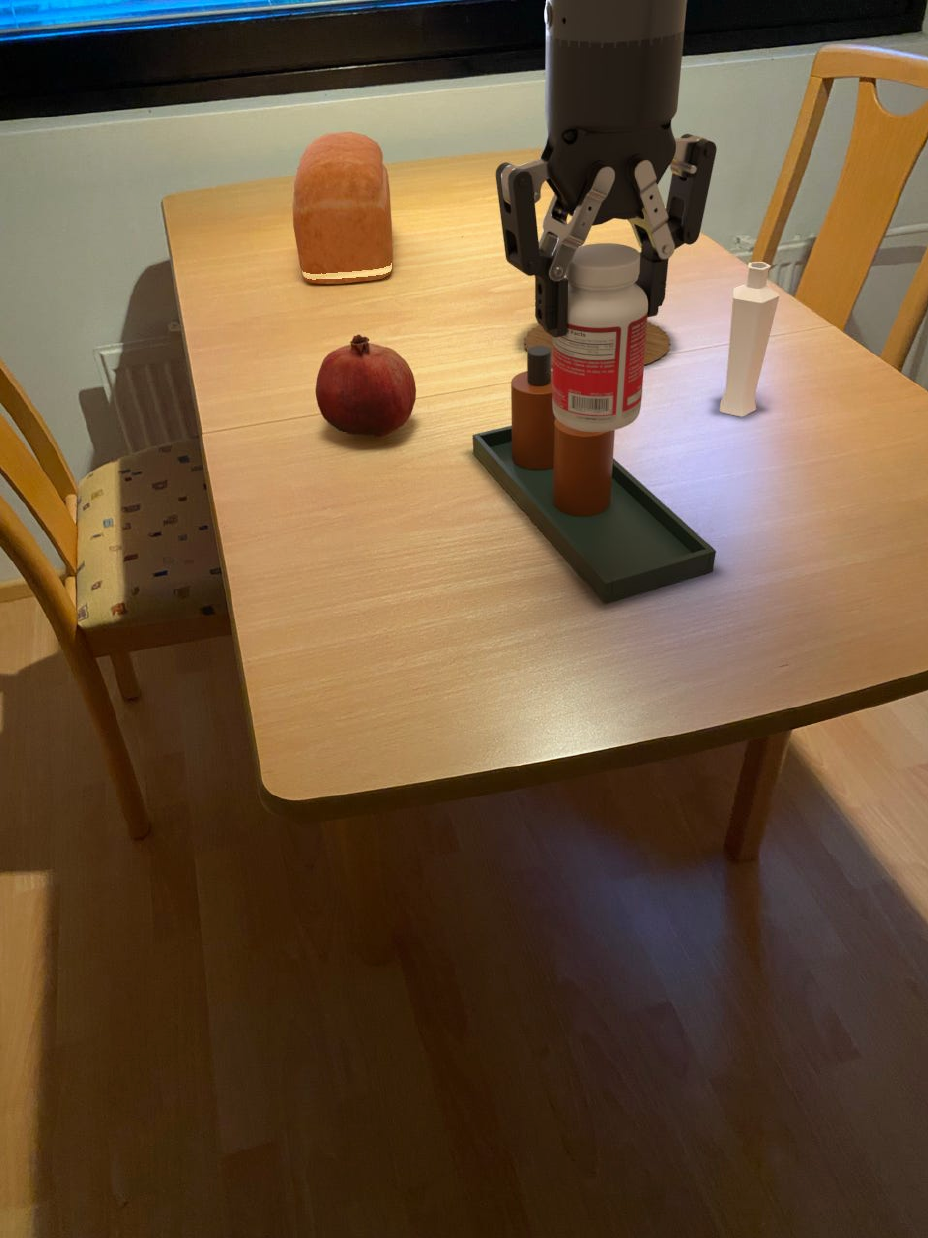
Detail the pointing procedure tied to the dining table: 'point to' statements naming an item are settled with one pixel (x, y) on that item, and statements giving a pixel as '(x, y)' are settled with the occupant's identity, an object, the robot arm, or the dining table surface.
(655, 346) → the ceramic pot
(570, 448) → the amber bottle middle
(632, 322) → the pill bottle
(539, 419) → the amber bottle far
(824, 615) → the dining table surface
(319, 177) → the bread
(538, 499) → the tray
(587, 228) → the robot arm
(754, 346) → the white faceted vase
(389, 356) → the fruit
